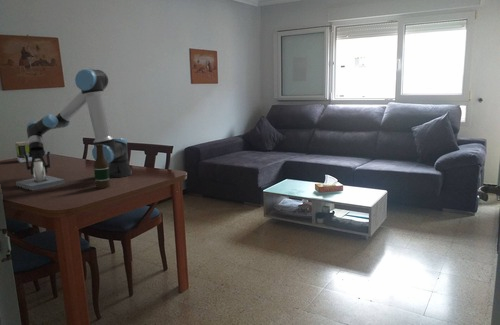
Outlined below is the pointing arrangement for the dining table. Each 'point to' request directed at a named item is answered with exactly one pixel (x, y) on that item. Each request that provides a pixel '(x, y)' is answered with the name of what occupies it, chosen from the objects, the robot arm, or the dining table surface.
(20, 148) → the tea box
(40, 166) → the peg
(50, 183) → the socket plate
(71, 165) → the dining table surface
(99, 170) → the beer bottle
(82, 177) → the dining table surface
